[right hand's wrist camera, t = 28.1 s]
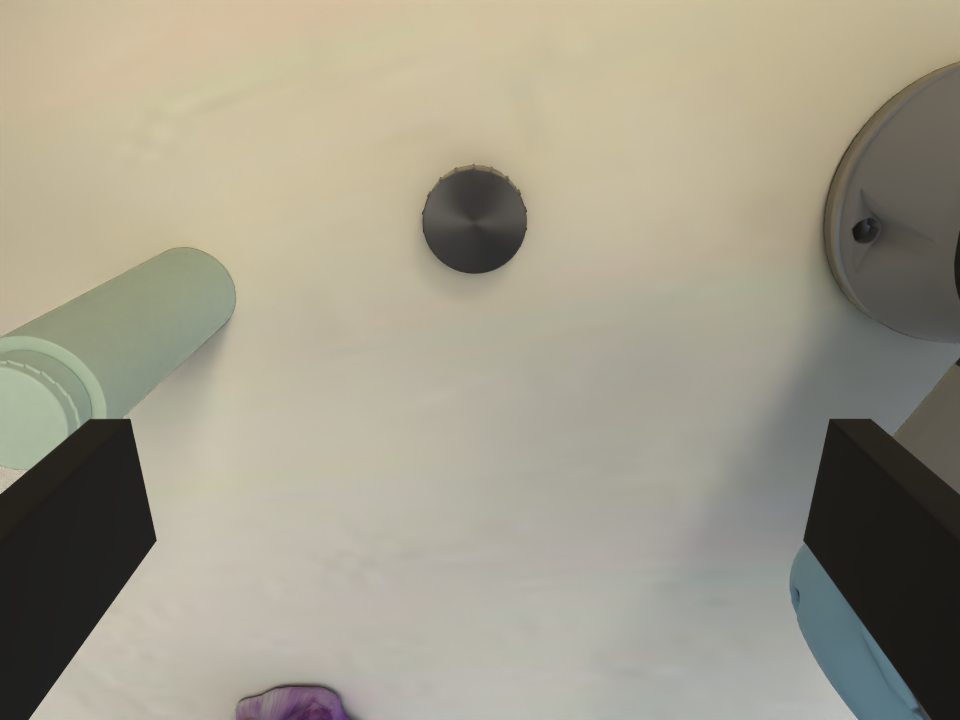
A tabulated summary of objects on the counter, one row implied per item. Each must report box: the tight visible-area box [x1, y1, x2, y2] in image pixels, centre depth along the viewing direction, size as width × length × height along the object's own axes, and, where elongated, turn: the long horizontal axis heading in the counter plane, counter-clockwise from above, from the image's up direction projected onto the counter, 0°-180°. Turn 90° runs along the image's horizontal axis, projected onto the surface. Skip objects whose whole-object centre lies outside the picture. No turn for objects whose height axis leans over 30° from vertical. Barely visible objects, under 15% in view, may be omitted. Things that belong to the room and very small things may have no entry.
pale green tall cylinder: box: [0, 248, 236, 470], centre depth 32 cm, size 5×5×17 cm
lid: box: [422, 164, 527, 274], centre depth 37 cm, size 6×6×2 cm
